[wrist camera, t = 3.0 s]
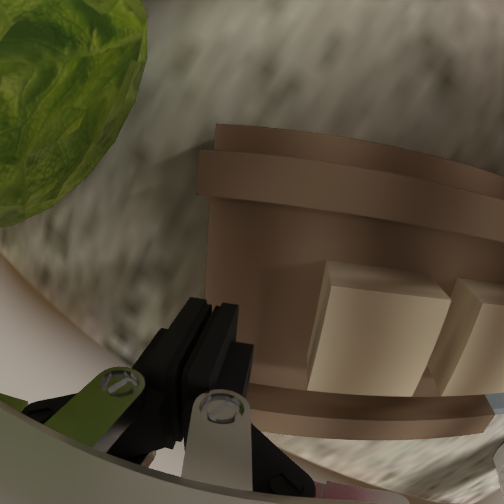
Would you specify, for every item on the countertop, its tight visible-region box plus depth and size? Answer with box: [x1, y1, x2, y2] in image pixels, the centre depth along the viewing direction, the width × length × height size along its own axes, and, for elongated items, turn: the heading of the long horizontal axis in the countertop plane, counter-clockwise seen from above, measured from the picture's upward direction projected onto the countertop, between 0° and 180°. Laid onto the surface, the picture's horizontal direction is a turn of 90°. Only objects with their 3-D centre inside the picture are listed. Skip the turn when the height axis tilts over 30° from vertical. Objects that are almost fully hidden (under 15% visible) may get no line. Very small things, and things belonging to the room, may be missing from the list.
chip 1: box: [307, 260, 451, 397], centre depth 12 cm, size 4×4×2 cm
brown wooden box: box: [196, 124, 504, 440], centre depth 14 cm, size 16×14×6 cm
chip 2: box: [427, 278, 504, 396], centre depth 11 cm, size 4×4×2 cm
